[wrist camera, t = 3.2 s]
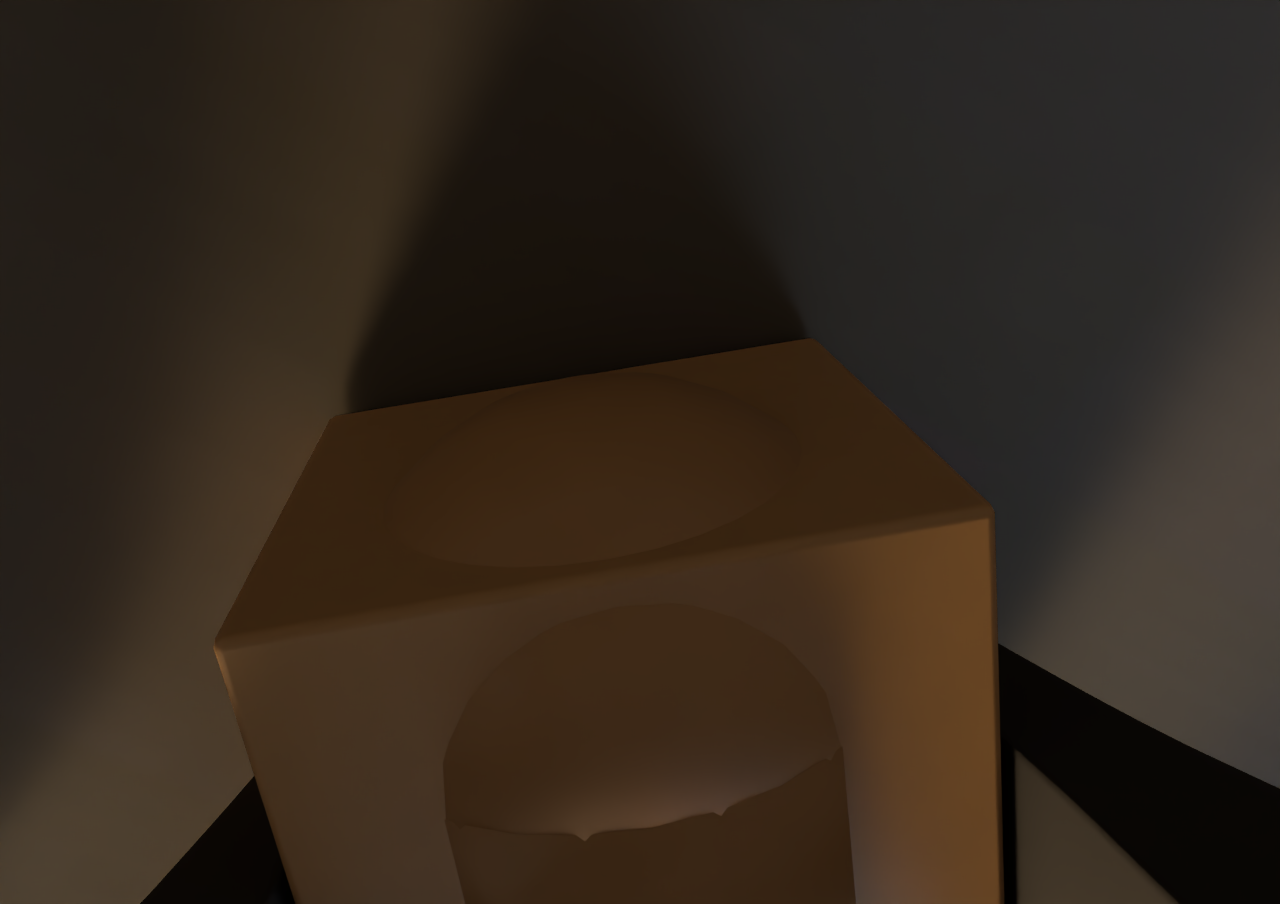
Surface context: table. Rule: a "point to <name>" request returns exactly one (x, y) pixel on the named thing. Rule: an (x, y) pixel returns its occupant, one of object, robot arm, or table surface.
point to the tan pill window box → (628, 648)
